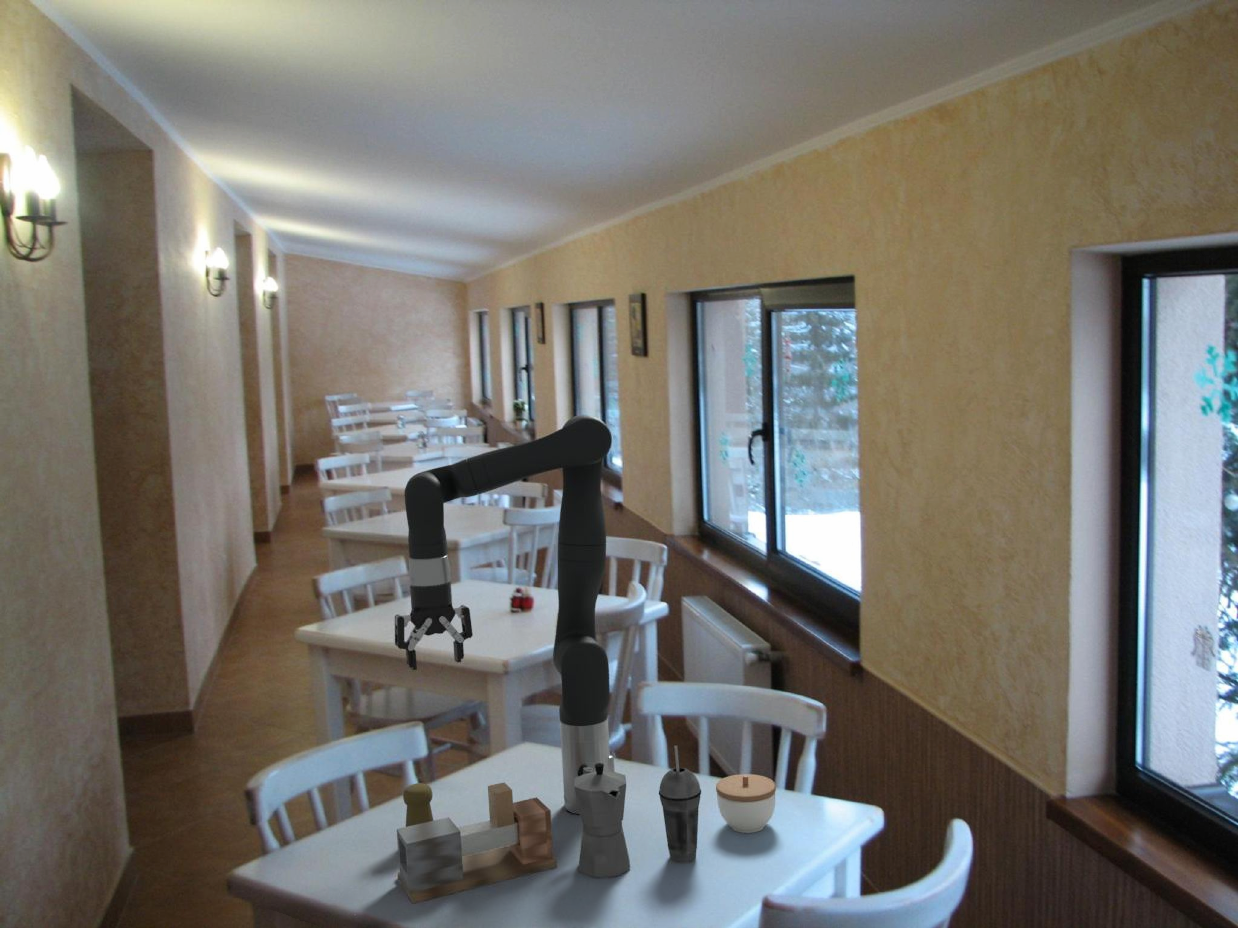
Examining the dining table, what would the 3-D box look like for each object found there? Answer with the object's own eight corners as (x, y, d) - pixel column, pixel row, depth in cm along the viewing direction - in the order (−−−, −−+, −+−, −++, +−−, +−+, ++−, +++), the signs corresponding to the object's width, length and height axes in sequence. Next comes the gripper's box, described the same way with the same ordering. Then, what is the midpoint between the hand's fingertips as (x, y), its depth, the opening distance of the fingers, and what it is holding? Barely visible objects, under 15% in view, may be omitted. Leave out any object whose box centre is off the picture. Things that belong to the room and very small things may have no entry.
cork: (430, 852, 197) (426, 792, 196) (399, 851, 198) (394, 791, 197) (443, 837, 202) (439, 779, 201) (411, 836, 204) (407, 778, 203)
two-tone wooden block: (533, 829, 194) (529, 776, 193) (541, 838, 190) (538, 784, 189) (440, 851, 187) (436, 796, 186) (447, 860, 183) (443, 804, 182)
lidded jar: (750, 808, 208) (748, 760, 208) (789, 827, 200) (787, 776, 199) (705, 824, 203) (703, 774, 202) (744, 844, 194) (742, 792, 193)
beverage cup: (708, 849, 192) (704, 737, 190) (698, 868, 185) (692, 752, 183) (668, 845, 194) (663, 735, 193) (656, 864, 188) (650, 749, 186)
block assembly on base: (536, 844, 198) (533, 793, 197) (557, 866, 189) (554, 813, 188) (397, 878, 187) (394, 825, 186) (413, 903, 178) (409, 847, 177)
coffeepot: (646, 875, 184) (641, 770, 182) (594, 888, 180) (588, 781, 178) (608, 840, 198) (603, 742, 196) (559, 852, 194) (553, 752, 192)
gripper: (461, 572, 212) (466, 654, 214) (387, 581, 206) (393, 666, 208) (473, 578, 206) (478, 663, 207) (397, 588, 200) (403, 676, 201)
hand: (435, 665), depth 207 cm, fingers open, 8 cm apart
